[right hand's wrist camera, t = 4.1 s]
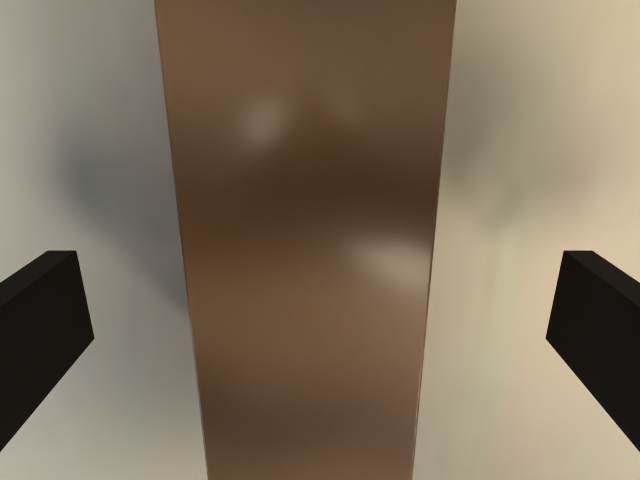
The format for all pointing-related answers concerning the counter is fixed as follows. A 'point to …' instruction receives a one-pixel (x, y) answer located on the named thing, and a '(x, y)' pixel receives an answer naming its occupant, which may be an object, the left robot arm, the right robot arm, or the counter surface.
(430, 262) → the post
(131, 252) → the counter surface
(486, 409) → the counter surface
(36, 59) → the counter surface
